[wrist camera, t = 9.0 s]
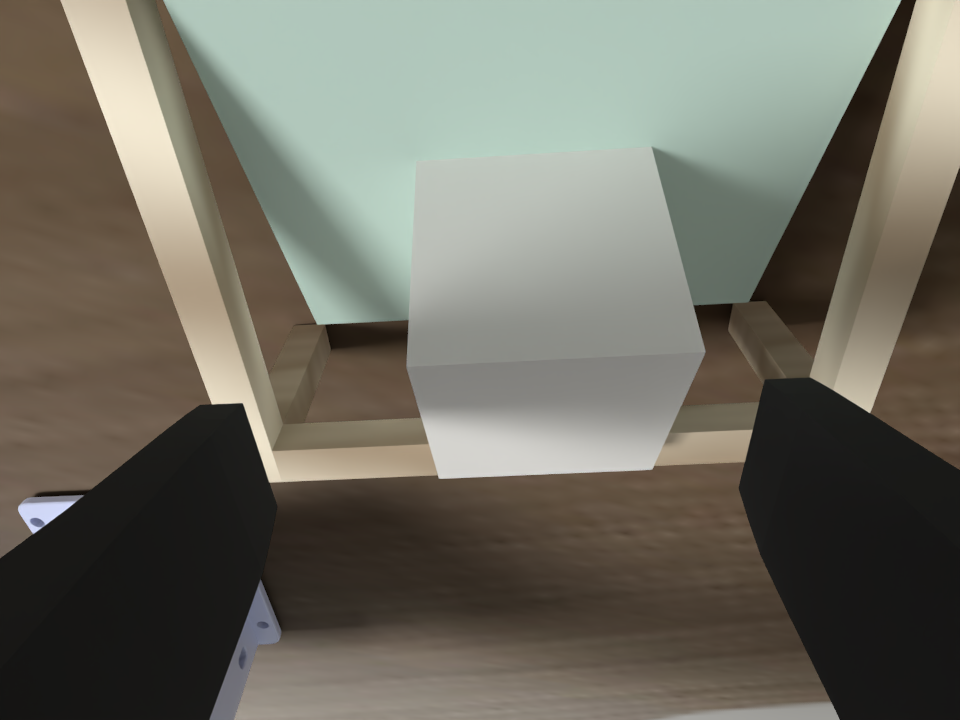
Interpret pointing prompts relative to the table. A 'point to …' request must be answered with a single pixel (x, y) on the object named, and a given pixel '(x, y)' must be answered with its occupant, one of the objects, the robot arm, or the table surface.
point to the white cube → (547, 313)
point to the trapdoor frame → (403, 442)
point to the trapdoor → (523, 116)
